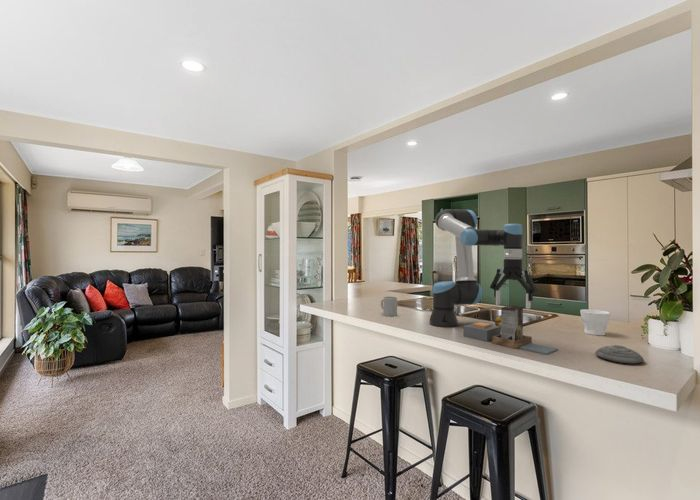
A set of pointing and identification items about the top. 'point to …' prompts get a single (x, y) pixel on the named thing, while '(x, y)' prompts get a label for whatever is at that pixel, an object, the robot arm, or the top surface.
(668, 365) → the top surface
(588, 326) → the cup
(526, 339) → the wooden tray
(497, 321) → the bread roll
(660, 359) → the top surface
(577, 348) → the top surface
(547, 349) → the slate mat
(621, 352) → the grey flat stone
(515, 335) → the coffee box
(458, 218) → the robot arm
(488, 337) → the button housing
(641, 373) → the top surface
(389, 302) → the mug
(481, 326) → the release button
